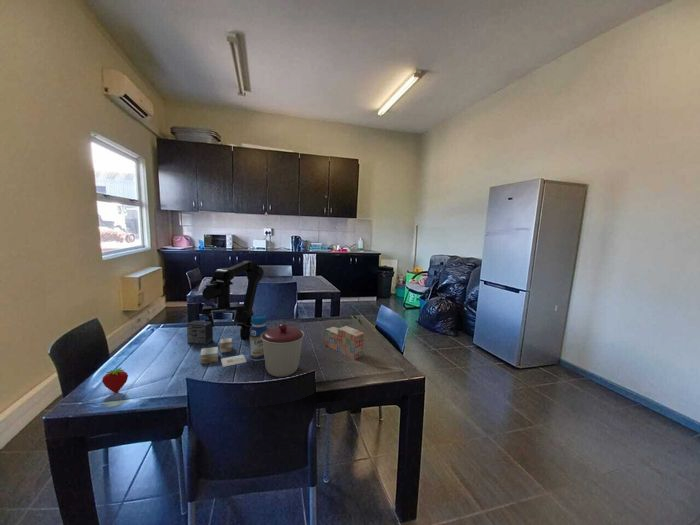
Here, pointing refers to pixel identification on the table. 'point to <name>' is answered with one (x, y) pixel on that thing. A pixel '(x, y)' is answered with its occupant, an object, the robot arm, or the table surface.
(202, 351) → the tower base
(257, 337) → the beverage bottle
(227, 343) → the beige cube
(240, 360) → the page
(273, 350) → the canister
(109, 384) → the strawberry
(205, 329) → the small box
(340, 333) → the stack of blocks
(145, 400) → the table surface
